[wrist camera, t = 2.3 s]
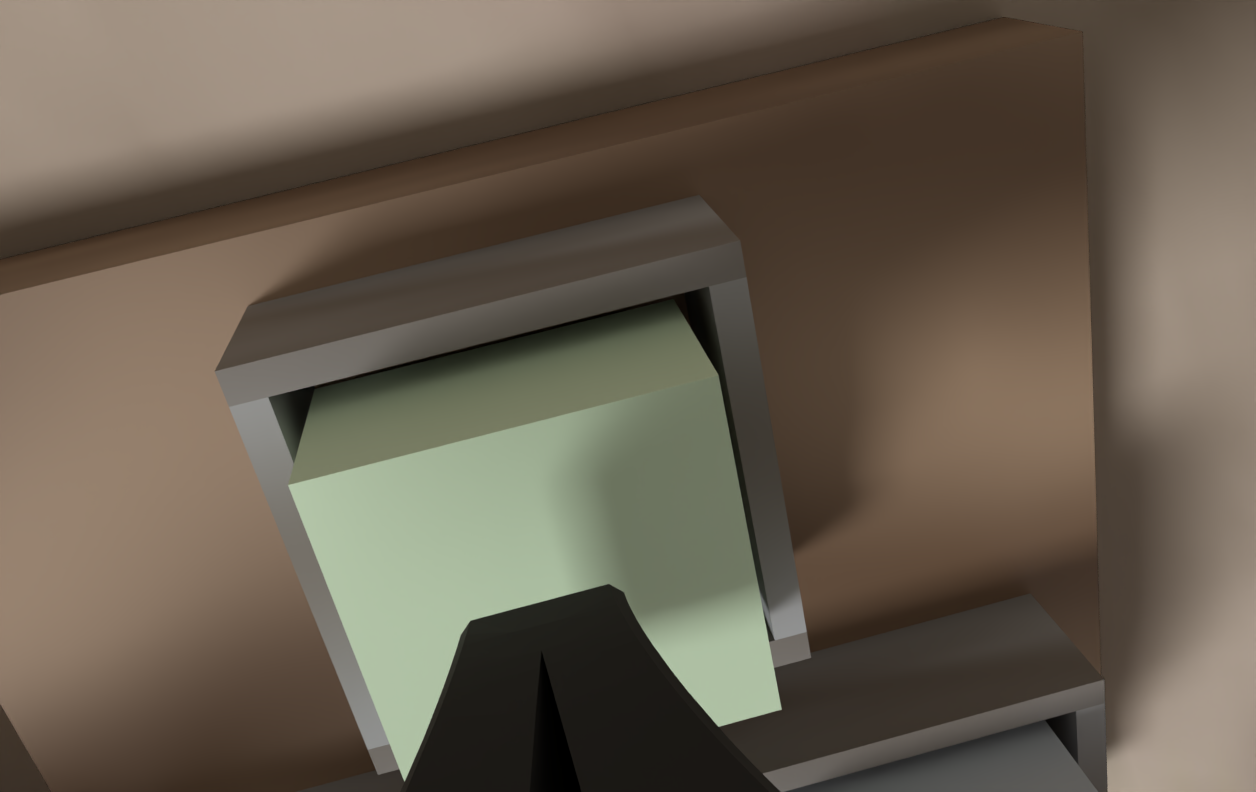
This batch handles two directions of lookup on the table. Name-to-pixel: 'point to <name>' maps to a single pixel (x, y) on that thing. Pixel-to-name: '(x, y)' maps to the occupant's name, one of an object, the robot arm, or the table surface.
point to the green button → (536, 507)
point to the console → (560, 296)
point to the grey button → (975, 767)
